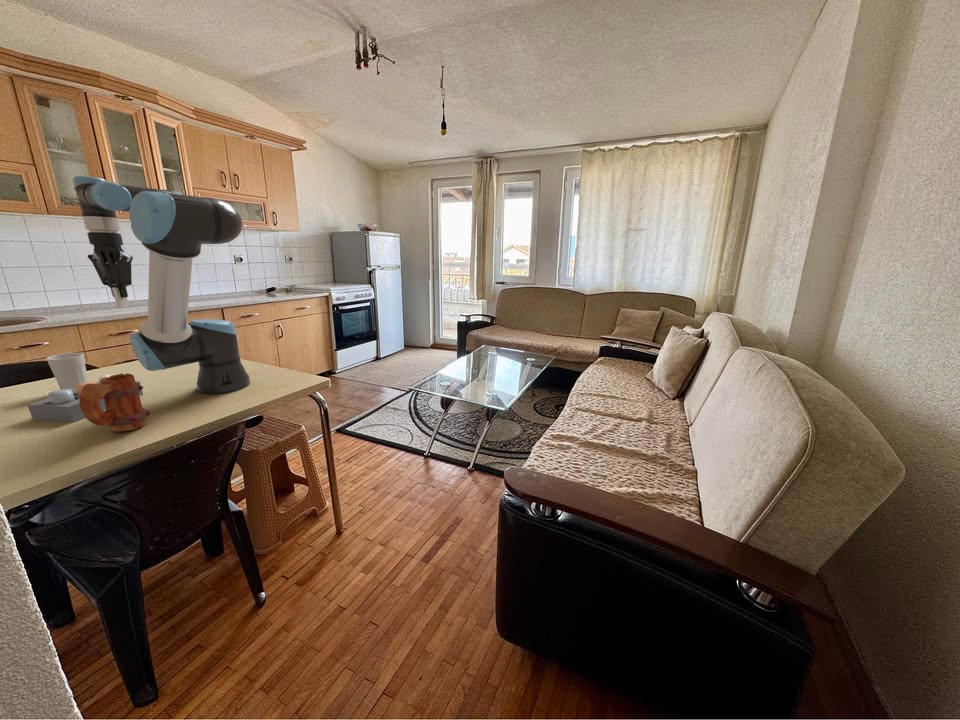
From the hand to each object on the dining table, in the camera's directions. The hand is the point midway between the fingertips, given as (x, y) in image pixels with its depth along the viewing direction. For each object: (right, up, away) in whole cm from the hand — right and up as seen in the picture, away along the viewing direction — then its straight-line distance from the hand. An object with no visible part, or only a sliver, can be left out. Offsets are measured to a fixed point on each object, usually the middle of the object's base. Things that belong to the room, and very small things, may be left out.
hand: (123, 307), depth 122 cm
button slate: (+2, -31, -19) cm, 36 cm away
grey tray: (+2, -31, -12) cm, 33 cm away
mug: (+25, -36, -26) cm, 51 cm away
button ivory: (+3, -27, -6) cm, 28 cm away
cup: (-14, -28, -1) cm, 31 cm away
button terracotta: (+2, -29, -12) cm, 32 cm away
